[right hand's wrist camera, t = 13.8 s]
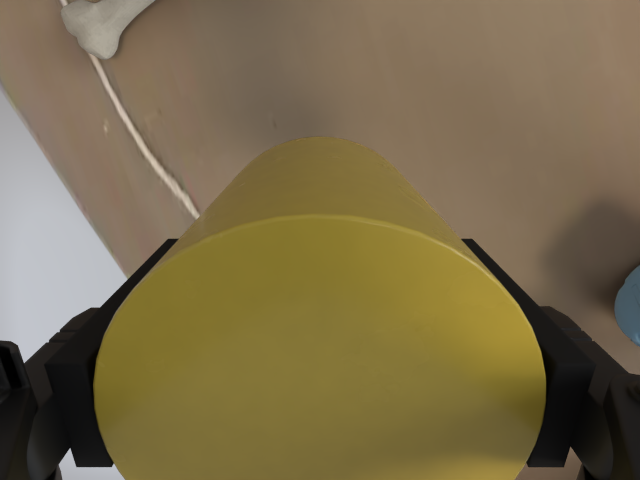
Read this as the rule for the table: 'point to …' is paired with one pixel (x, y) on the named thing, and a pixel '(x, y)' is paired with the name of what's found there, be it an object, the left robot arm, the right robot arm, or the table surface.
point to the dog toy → (100, 23)
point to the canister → (319, 338)
